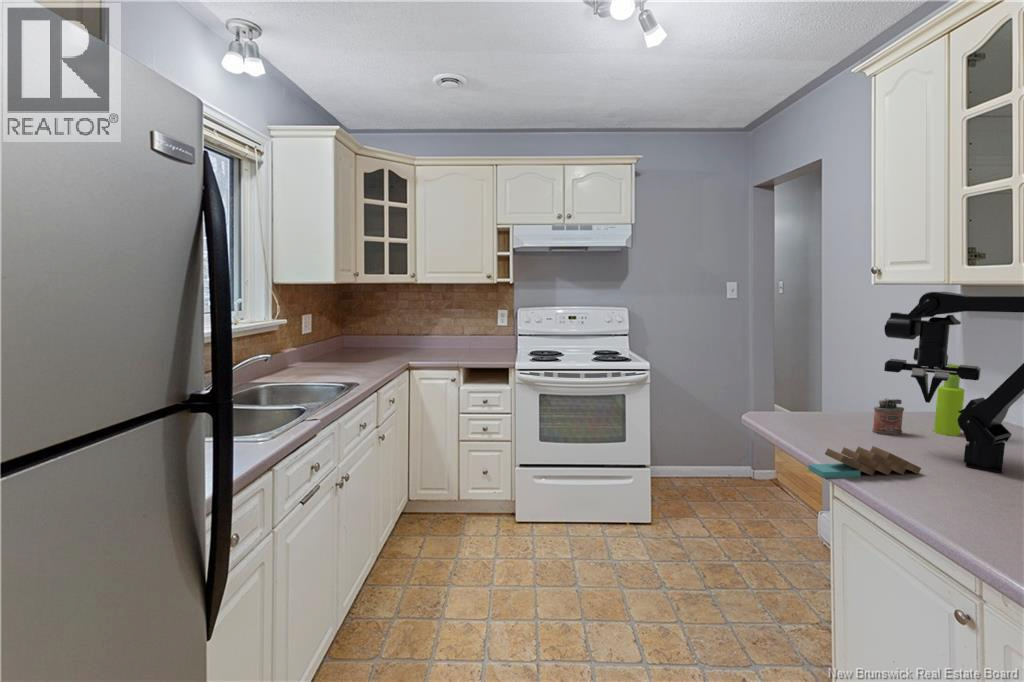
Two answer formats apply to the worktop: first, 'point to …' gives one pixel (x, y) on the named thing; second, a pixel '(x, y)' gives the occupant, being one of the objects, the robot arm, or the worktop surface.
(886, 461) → the domino
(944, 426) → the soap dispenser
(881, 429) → the red tin can
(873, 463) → the domino
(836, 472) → the domino
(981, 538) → the worktop surface
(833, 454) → the domino
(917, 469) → the domino
